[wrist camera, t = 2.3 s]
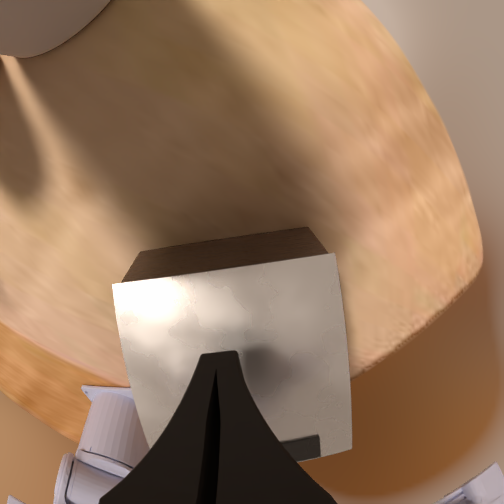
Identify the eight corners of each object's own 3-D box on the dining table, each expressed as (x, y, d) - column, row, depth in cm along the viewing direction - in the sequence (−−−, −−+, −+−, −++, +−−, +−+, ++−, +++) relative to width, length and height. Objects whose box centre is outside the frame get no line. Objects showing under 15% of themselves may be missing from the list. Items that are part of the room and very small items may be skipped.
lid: (347, 441, 13) (353, 450, 12) (161, 461, 13) (156, 471, 12) (329, 254, 15) (336, 252, 14) (119, 284, 14) (110, 284, 13)
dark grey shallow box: (309, 349, 24) (321, 384, 20) (182, 366, 24) (177, 402, 20) (308, 227, 19) (328, 253, 15) (140, 251, 19) (120, 282, 15)
